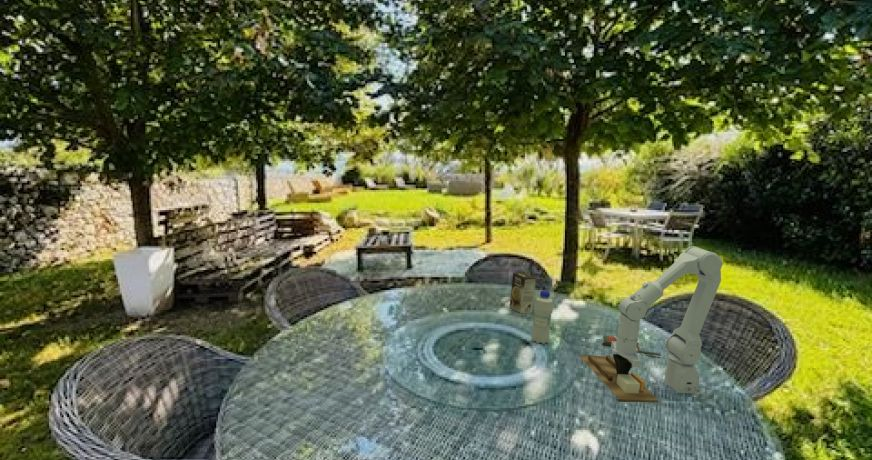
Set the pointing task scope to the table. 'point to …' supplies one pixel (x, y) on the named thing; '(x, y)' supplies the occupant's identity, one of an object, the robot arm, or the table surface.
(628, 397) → the cradle
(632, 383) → the plug
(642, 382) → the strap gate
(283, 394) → the table surface
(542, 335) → the bottle
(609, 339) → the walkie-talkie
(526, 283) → the coffee box
